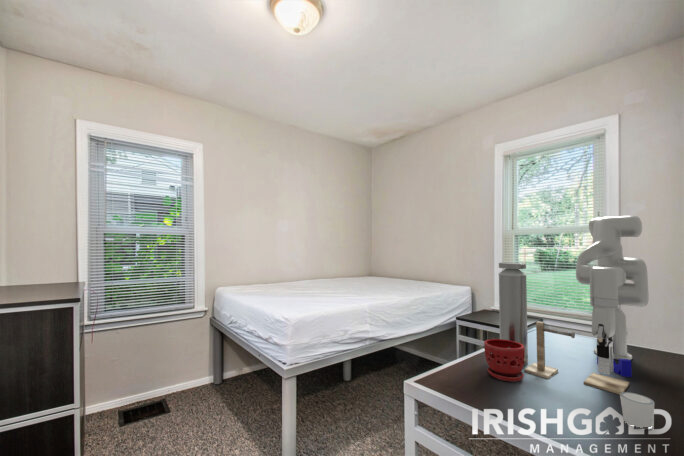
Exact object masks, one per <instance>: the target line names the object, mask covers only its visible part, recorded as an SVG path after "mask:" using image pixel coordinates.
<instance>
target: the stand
mask: <svg viewBox="0 0 684 456" xmlns="http://www.w3.org/2000/svg"><path fill="white" fill-rule="evenodd" d="M535 323H536V362H534V363H532V364H530V365H527V367H525V368H524V370H523V371H524V373H527V374H531V375H534V376H537V377H540V378H544V379H547V380H549V379H551V378H552V377H553V376H554V375H556V374H557V373H558V372H559V369H558V368H556V367H552V366H548V365H546V350H545V348H546V346H545V343H546V342H545V332H547V333H552V334H557V335H562V336H567V337H571V339H575V336H576V333H575V332H574V331H572V332H568V331H567V332H566V331H561V330H558V329H551V328H545V322H544V321H539V320H537V321H536V322H535Z"/></svg>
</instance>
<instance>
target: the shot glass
mask: <svg viewBox="0 0 684 456" xmlns="http://www.w3.org/2000/svg"><path fill="white" fill-rule="evenodd" d="M619 398H620V404H621V410H622V419H623V422H624V421H625V422H624V423H625V424H626V423H627V424H626V425H628V424H629V425H628V426H630V425H634V426H636V427H640V428H643V427H651V426H654V425H653V424H654V415H655V414H654V413H655V401H654V400H653V399H651V398H650V397H648V396H646V395H643V394H638V393H635V392H629V391H624V392H622V393H620V394H619Z"/></svg>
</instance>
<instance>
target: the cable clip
mask: <svg viewBox="0 0 684 456" xmlns="http://www.w3.org/2000/svg"><path fill="white" fill-rule="evenodd" d="M613 363H614V371H613V372H615V373H616V374H618V376H621V377H628V378H632V374H633V373H632V359H631V360H629V359H619V360H618V363H616V361H615V359H613ZM596 364H597V365H598V356H597V355H596Z"/></svg>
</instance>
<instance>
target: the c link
mask: <svg viewBox="0 0 684 456" xmlns="http://www.w3.org/2000/svg"><path fill="white" fill-rule="evenodd" d="M608 347H609V359H606V358H602V357H598V364H597V367H598V369H597V372H598V373H600V374H605V375H609V376H610V375H611V374H612V373H613V372H614V363H613V341H609V340H608Z"/></svg>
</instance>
